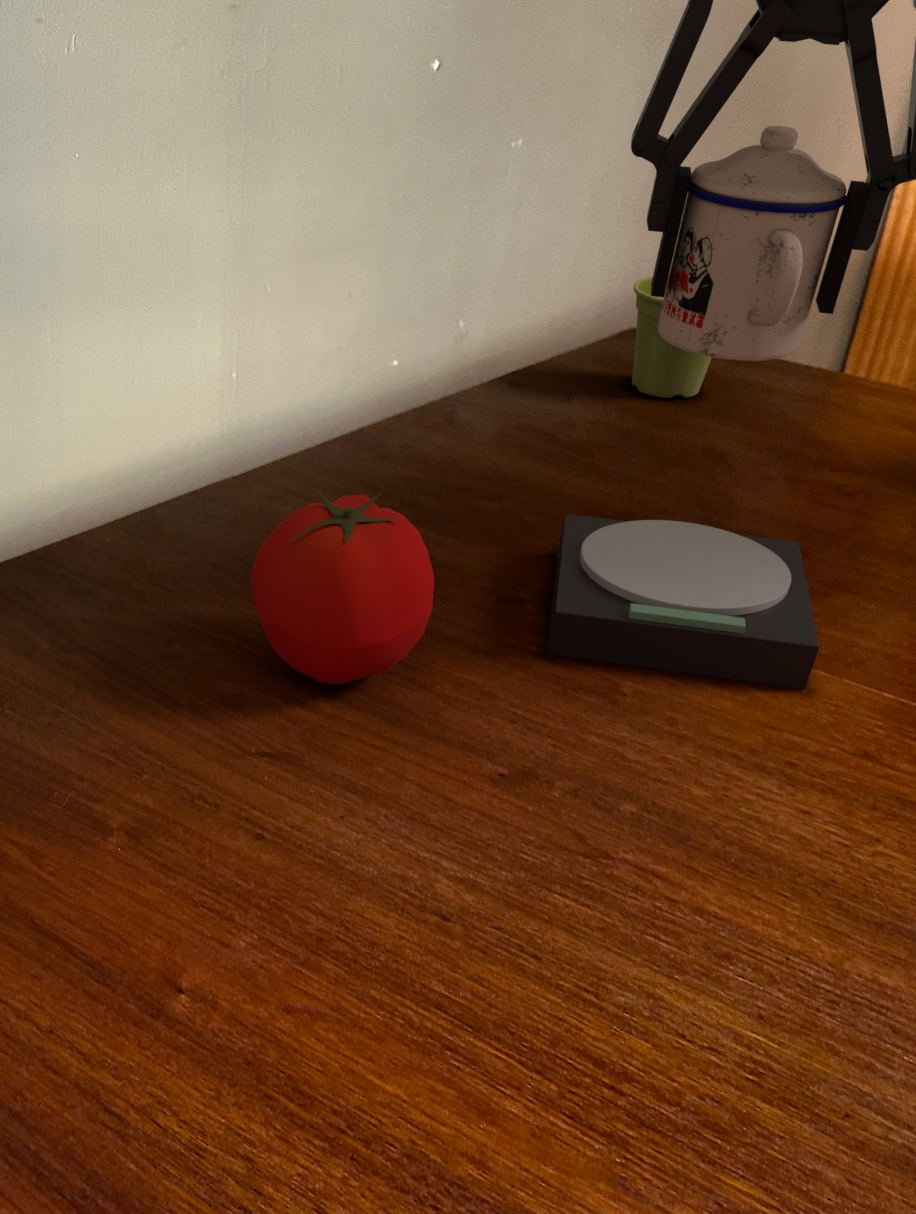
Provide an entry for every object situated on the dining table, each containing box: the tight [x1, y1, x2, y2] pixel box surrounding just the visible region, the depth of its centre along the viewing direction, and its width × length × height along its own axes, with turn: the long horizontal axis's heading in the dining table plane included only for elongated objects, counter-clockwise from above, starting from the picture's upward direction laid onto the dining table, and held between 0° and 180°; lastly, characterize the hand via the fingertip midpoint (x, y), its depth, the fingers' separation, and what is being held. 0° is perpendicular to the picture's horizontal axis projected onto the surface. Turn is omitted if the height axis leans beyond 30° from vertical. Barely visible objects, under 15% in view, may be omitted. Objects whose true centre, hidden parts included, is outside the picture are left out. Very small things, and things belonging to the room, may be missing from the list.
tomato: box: [250, 490, 435, 686], centre depth 86 cm, size 11×13×10 cm
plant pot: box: [631, 276, 713, 399], centre depth 129 cm, size 9×9×9 cm
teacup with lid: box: [658, 125, 847, 362], centre depth 84 cm, size 12×9×12 cm
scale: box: [546, 513, 820, 690], centre depth 95 cm, size 16×16×4 cm
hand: (739, 298), depth 86 cm, fingers closed on teacup with lid, 9 cm apart
